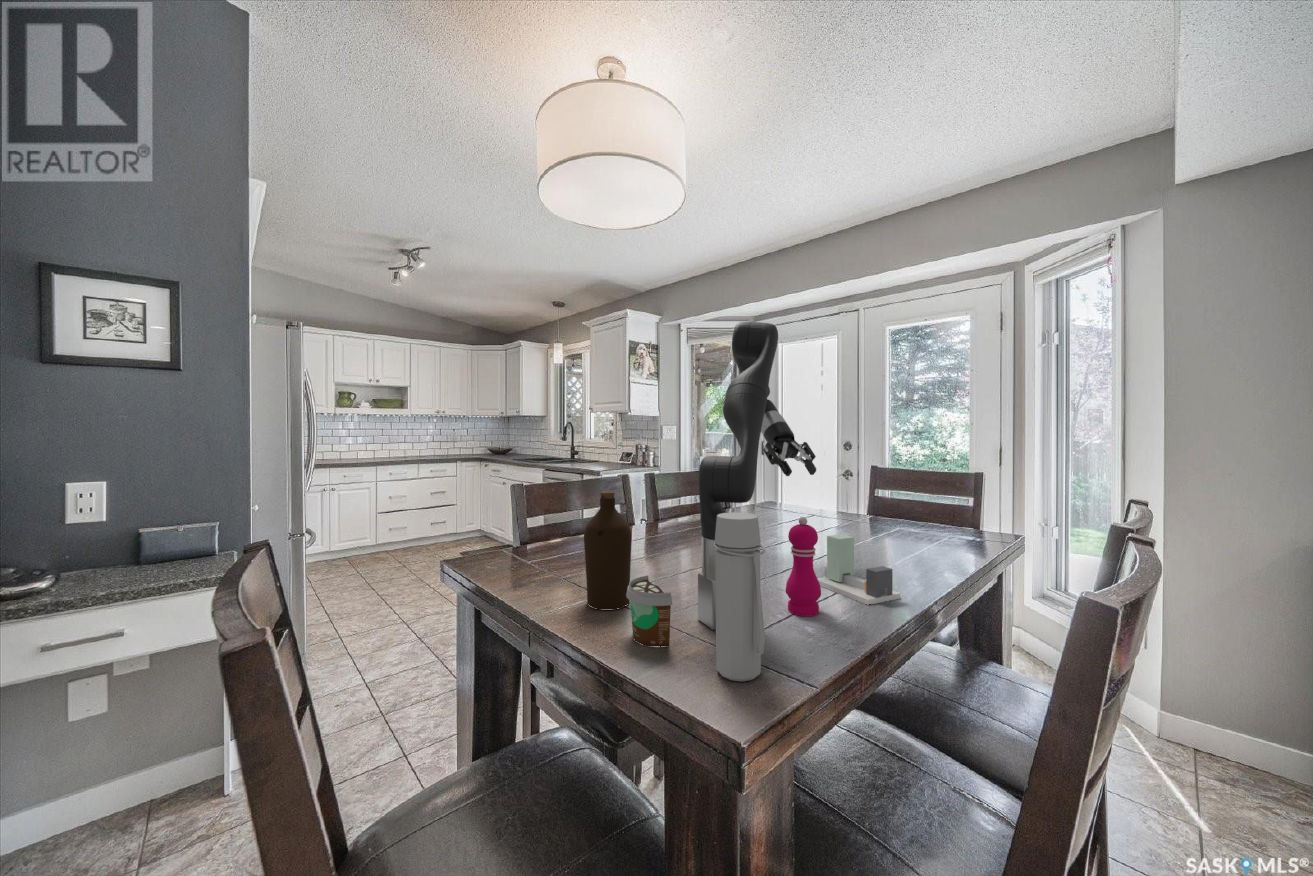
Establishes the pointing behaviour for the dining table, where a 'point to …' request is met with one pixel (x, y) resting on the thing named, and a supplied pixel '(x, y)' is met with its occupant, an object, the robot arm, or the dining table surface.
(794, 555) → the pepper mill
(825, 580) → the rail base
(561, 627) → the dining table surface
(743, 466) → the robot arm
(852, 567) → the sleeve
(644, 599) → the food container
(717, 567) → the water bottle
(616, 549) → the olive oil
